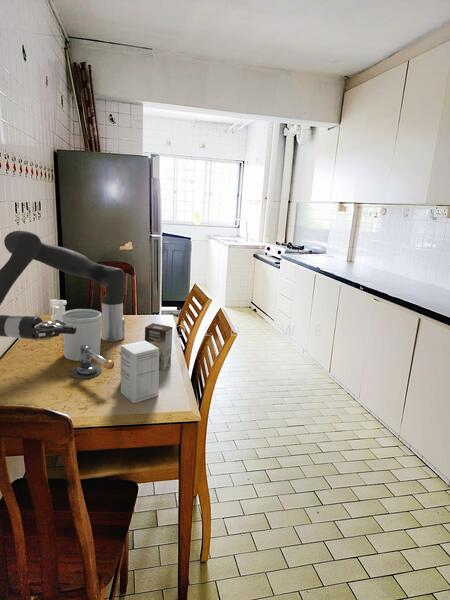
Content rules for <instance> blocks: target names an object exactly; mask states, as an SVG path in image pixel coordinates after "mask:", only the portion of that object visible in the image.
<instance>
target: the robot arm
mask: <svg viewBox="0 0 450 600" xmlns="http://www.w3.org/2000/svg"><path fill="white" fill-rule="evenodd" d="M3 244H4V247H5V249H6V250H7V251H8V252H9V253H10V254H11V255H10V257H9V258H8V260H7V262H5V264H4V265H3V266H2V267H1V268H0V306H1V305H2V304H3V303H4V302H3V301H4V300H5V298H7V297H6V296H7V295H8V293H9V292H10V290H11V289H12V287H13V285H14V284H15V283H16V281H17V279H18V278H20V276H21V275H22V273H24V271H25V270H26V268H27V267H28V266H29V265H30V264H31V262H32V261H33V260H34V261H36V262H37V261H38V262H39V263H42V264H44V265H47V266H49V267H50V268H53V269H55V270H58V271H61V272H64V273H65V274H69V275H72V276H75V277H78V278H79V277H80V278H84V279H85V278H86V279H89V280H91V281H93V282H95V283H98V284H99V285H101V286H103V287H105V288H106V287H107V293H106V294H104V295H102V296H101V313H102V317H101V339H102V340H103V341H104V342H109V343H110V342H112V343H113V342H119V341H122V340H125V338H126V337H125V333H126V331H125V330H126V329H125V328H126V327H125V323H126V321H125V318H124V298H125V295H126V284H127V283H126V282H127V281H126V274H125V271H124V270H123V269H122V268H119V267H113V266H109V265H103V264H101V263H100V264H99V263H97V262H94V261H92V260H91V259H89V258H88V257H87V256H85V255H84V254H83V253H82V254H81V253H80V252H77V251H75V250H72V249H69V248H66V247H62V246H58V245H54V244H49V243H46V242H43V241H41V238H40V237H39V236H38V234H36V233H34V232H31V231H27V230H26V231H25V230H14V231H11V232H9V233H7V235H6V236H5V237H4V240H3ZM76 332H77V331H76V327H75V326H66V323H64V322H62V321H60V320H54V322H52V321H49V320H46V321H43V320H42V317H40V316H34V315H33V316H32V315H20V314H19V315H7V314H6V315H5V314H4V315H3V314H1V315H0V337H6V338H13V339H26V340H38V339H47V338H54V337H59V336H60V335H61V336H63V333H64V334H75V333H76Z"/></svg>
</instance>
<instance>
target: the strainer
mask: <svg viewBox="0 0 450 600" xmlns="http://www.w3.org/2000/svg"><path fill="white" fill-rule="evenodd" d="M49 301H50V304H49V305H50V308H52V309H51V310H52V312H51V313H52V315H51V316H50V320H52V321H55V320H60V321H62V322H63V319H62V314H63V313H64V312H66V305H67V300H66V299H65V300H64V299H56V298H55V299H50V300H49Z"/></svg>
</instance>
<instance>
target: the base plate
mask: <svg viewBox="0 0 450 600" xmlns="http://www.w3.org/2000/svg"><path fill="white" fill-rule="evenodd" d="M77 367H78V366H76V367H73V368H72V369H70V371H69V376H70V377H72V378H73V379H78V380H79V379H80V380H86V379H93V378H96V377H99V376H100V375H101V374H102V368H101V367H100V366H97V368H98V371H97V373H95V374H93V375H86V376H85V375H79V374H78V373H77Z"/></svg>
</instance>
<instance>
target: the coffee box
mask: <svg viewBox="0 0 450 600" xmlns="http://www.w3.org/2000/svg"><path fill="white" fill-rule="evenodd" d="M144 341H147V342H149V343H150V344H152V345H154V346H156V347H157V348H159V369H160V370H159V371H165V370H166V369H168V368H169V367H171V365H172V349H173V348H172V347H173V346H172V345H173V326H171V325H170V326H169V325H164V324H159V323H154V322H153V323H150V324H148V325H147V326H145V327H144ZM168 366H169V367H168ZM167 367H168V368H167Z"/></svg>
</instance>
